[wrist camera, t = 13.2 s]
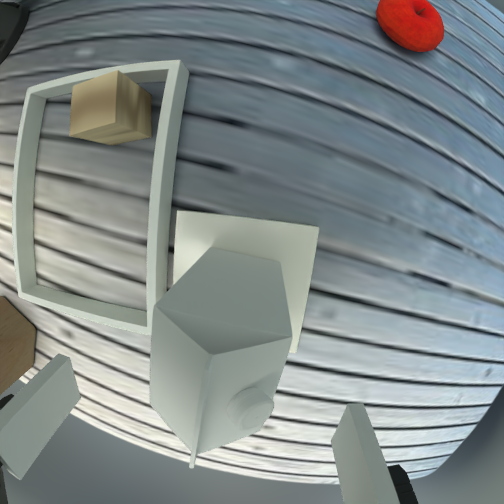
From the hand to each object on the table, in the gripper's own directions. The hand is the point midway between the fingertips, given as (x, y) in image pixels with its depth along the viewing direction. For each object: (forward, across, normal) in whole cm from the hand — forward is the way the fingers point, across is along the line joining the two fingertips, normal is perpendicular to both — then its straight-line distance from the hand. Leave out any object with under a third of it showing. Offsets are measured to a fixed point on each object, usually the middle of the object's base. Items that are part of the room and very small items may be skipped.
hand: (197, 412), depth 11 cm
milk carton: (+18, 0, -1) cm, 18 cm away
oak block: (+20, -14, +16) cm, 29 cm away
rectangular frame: (+20, -18, +8) cm, 28 cm away
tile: (+19, 0, 0) cm, 19 cm away
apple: (+20, +16, +32) cm, 40 cm away
